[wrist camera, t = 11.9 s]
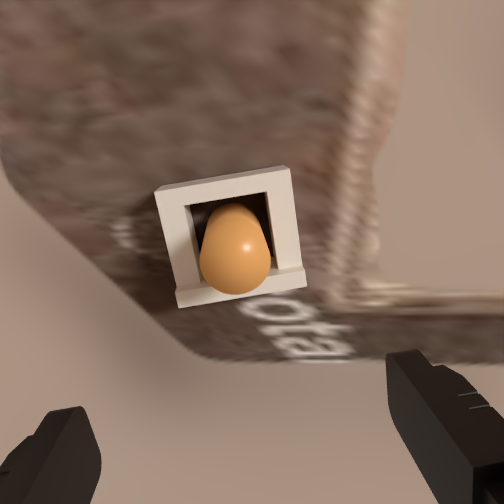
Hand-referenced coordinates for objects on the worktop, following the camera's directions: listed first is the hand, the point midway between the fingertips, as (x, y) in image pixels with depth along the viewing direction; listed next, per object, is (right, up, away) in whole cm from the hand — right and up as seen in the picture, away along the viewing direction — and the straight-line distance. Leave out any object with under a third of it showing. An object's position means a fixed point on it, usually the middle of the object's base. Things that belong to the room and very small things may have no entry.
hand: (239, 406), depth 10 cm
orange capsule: (-1, +6, +19) cm, 20 cm away
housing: (-1, +6, +19) cm, 20 cm away
